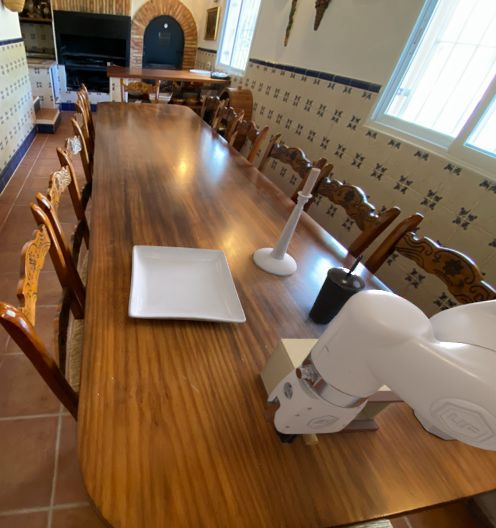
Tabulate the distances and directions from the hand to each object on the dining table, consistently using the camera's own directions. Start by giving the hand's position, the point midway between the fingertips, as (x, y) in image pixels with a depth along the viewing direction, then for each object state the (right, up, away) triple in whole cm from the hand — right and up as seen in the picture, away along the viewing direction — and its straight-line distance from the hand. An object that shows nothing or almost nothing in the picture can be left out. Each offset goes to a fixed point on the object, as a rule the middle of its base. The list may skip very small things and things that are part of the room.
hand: (282, 433), depth 49 cm
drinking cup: (+21, +14, +26) cm, 37 cm away
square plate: (-13, +21, +31) cm, 40 cm away
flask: (+33, -2, +8) cm, 33 cm away
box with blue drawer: (+10, +1, +9) cm, 14 cm away
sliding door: (+6, -2, +2) cm, 7 cm away
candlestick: (+17, +28, +43) cm, 54 cm away
